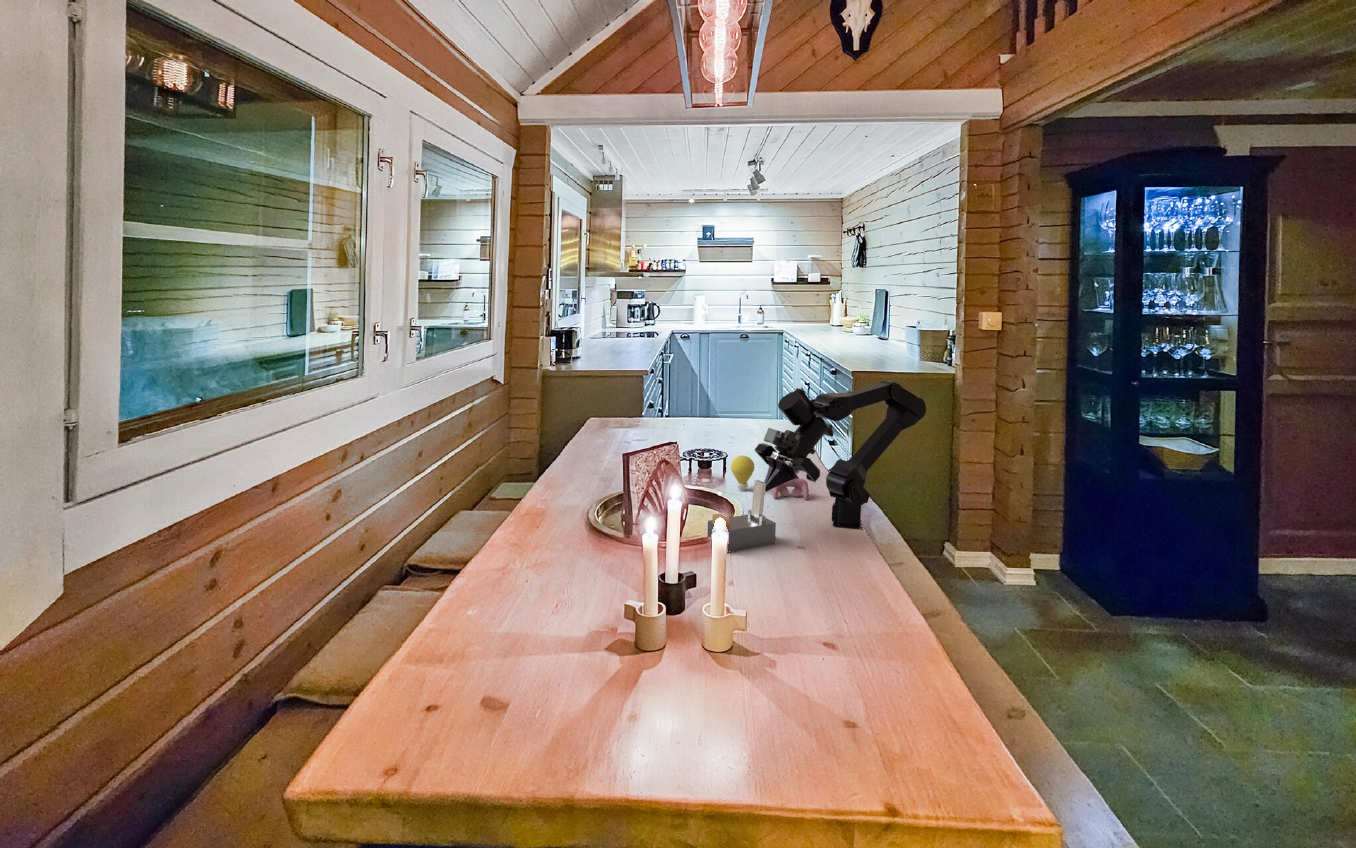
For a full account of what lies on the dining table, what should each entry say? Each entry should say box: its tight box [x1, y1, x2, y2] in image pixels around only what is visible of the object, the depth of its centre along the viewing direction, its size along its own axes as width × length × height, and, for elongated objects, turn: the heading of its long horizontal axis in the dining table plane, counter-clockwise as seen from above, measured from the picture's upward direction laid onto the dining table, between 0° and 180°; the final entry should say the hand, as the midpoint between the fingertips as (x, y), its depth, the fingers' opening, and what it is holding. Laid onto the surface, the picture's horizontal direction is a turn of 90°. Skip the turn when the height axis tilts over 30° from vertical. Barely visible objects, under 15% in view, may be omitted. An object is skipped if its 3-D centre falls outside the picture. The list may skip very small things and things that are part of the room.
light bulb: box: [730, 455, 755, 492], centre depth 211 cm, size 7×7×10 cm
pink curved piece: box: [772, 476, 810, 501], centre depth 205 cm, size 10×5×7 cm, turn 85°
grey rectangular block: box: [707, 509, 777, 554], centre depth 167 cm, size 13×8×7 cm, turn 118°
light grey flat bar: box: [751, 479, 766, 519], centre depth 168 cm, size 8×3×1 cm
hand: (764, 489), depth 168 cm, fingers closed
